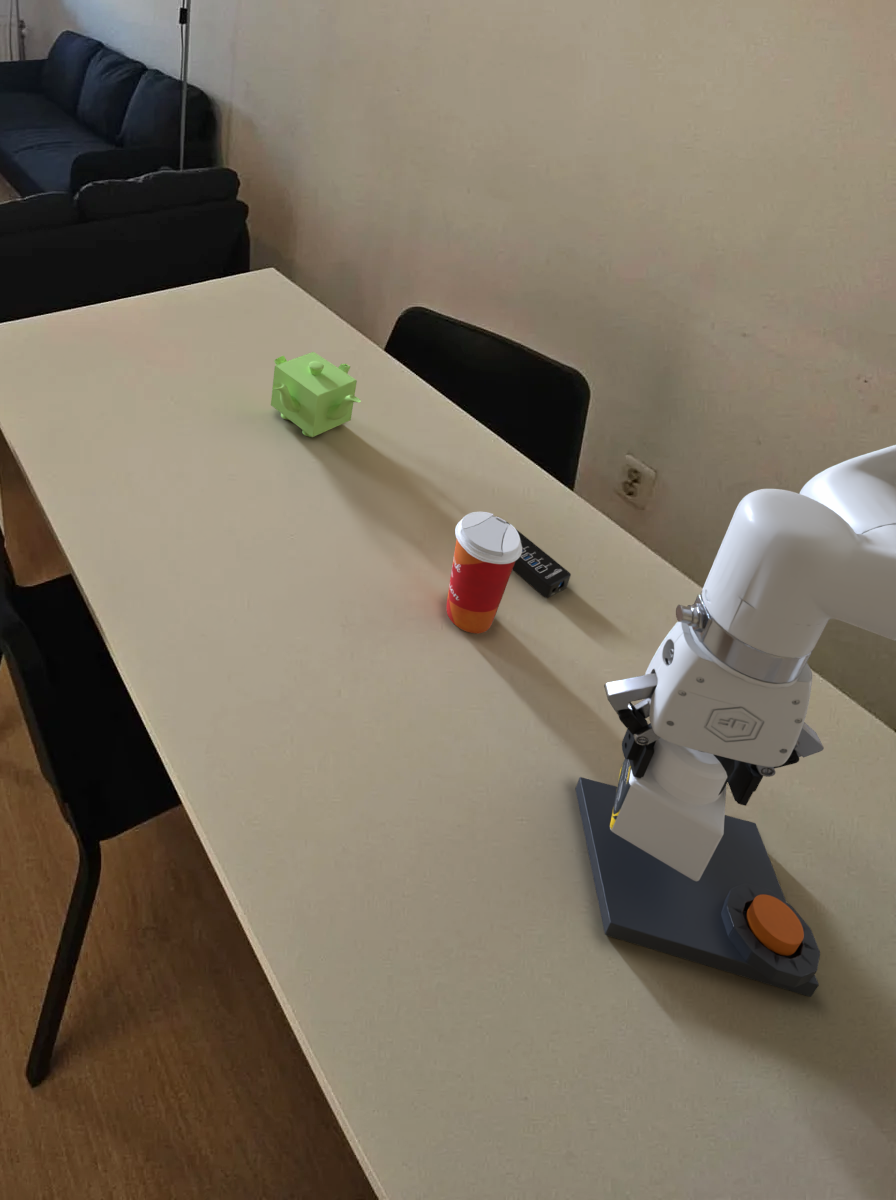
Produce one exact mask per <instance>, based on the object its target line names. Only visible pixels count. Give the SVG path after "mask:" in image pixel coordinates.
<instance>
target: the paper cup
mask: <svg viewBox="0 0 896 1200" xmlns="http://www.w3.org/2000/svg"><path fill="white" fill-rule="evenodd" d="M506 522H507V520H505V519H503V518H501V517H499V516H495V515H494V513H491V512H487V511H473V512H469V513H467V514H466V515H464V516H463V517H462V519H460V520H459V521H458V522H457V524H456V525H455V529H454V532H455V538H456V540H455V547H454V553H453V558H452V560H453V561H452V564H451V565H452V566H451V571H450V572H451V573H450V579H449V585H448V591H447V598H446V606H445V607H446V608H445V609H446V614H447V617H448V618H449V620H450V622H451V623H453V625H455V626H456V627H457V628H459V629H461V630H462V631H464V632H466V633H469V634H483V633H486V632H488V630H490V628H491V627H492V624H493V622H494V620H495V617H496V615H497V613H498V610H499V607H500V604H501V602H502V599H503V596H504V594H505V591H506V588H507V585H508V583H509V580H510V577H511V574H512V572H513V570H512V569H513V567H514V564H515V561H516V560H517V559H518V558H519V557H520V556H521V553H522V545H521V542H520V536H519V534H518V532H517V530H518V529H517V528H515V526H514V524H513V525H512V523H509V522H508V523H509V524H510V525H509V524H508V523H506ZM516 529H517V530H516Z"/></svg>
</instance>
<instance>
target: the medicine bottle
mask: <svg viewBox="0 0 896 1200" xmlns="http://www.w3.org/2000/svg"><path fill="white" fill-rule="evenodd" d="M652 744H653V747H654V754H653V756H652V758H651V761H650V763H649V765H648V767H647V770H646V772H645V774H644V777H641V778H637V777H634V776H633V774H632V770H631V766H630V763H629V760H628V759H625V758H624V760H623V762H622V764H621V767H620V770H619V774H618V780H617V785H616V787H617V790H616V796H615V801H614V806H613V812H612V817H611V823H610V829H611V831H612V832H613V833H615V834H617V835H618V836H620V837H622V838H623V839H625V840H627V841H628V842H630V843H632V844H633V845H635V846H637V847H638V848H640V849H642V850H643V851H645V852H647V853H648V854H650V855H652V856H653V857H655V858H657V859H659V860H660V861H662V862H664V863H665V864H667V865H669V866H670V867H672V868H674V869H675V870H677V871H679V872H680V873H682V874H684V875H685V876H687V877H689V878H690V879H692V880H694V881H699V880H700V878H701V876H702V874H703V872H704V870H705V868H706V866H707V864H708V863H709V861H710V859H711V857H712V855H713V853H714V851H715V849H716V847H717V846H718V844H719V842H720V840H721V838H722V836H723V834H724V818H725V815H726V798H727V784H728V780H729V778H730V776H731V774H732V772H733V770H734V766H735V760H734V759H730V758H726V757H722V756H718V755H714V754H710V753H706V752H702V751H698V750H694V749H690V748H687V747H683V746H680V745H676V744H673V743H670V742H668V741H666V740H664V739H662V738H660V739H658V740H656V741H654V742H652Z"/></svg>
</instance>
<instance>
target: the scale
mask: <svg viewBox="0 0 896 1200" xmlns="http://www.w3.org/2000/svg"><path fill="white" fill-rule="evenodd" d="M616 790H617V785H613V784H608V783H605V782H601V781H597V780H593V779H591V778H586V777H582V776H580V777H579V778H578V781H577V783H576V785H575V793H576V799H577V804H578V809H579V814H580V818H581V823H582V828H583V832H584V837H585V842H586V846H587V847H586V848H587V853H588V858H589V863H590V869H591V873H592V876H593V882H594V887H595V892H596V897H597V903H598V907H599V912H600V917H601V922H602V927H603V932H604V935H605V936H607V937H611V938H613V939H618V940H621V941H624V942H627V943H631V944H634V945H637V946H640V947H644V948H647V949H650V950H654V951H657V952H661V953H664V954H668V955H669V956H670V955H671V956H674V957H676V958H681V959H684V960H686V961H691V962H693V963H696V964H700V965H703V966H707V967H711V968H713V969H717V970H720V971H723V972H727V973H729V974H733V975H736V976H740V977H743V978H747V979H750V980H753V981H757V982H760V983H762V984H766V985H769V986H773V987H776V988H779V989H783V990H786V991H790V992H792V993H796V994H798V995H799V994H800V995H803V996H806V997H809V998H810V997H812V996H813V995H814V993H815V992H816V991H817V989H818V987H820V984H819V982H818V979H817V976H816V973H817V972H818V968H819V962H820V958H821V951H820V948H819V945H818V942H817V941H816V938H815V936H814V933H813V931H812V929H811V927H810V926H809V925H808V924H807V922H806V921H805V920H804V919H803V917H802V916H801V915H800V914H799V913H798V911H796V909H795V908H794V906H793V905H791V904H790V903H789V902H788V901H787V900H786V897H785V895H784V892H783V890H782V888H781V885H780V882H779V880H778V877H777V874H776V871H775V870H774V866H773V864H772V861H771V859H770V856H769V854H768V852H767V849H766V847H765V843H764V841H763V839H762V836H761V834H760V831H759V828H758V825H757V823H756V822H753V821H749V820H745V819H741V818H737V817H734V816H730V815H726V814H725V818H724V834H723V836H722V838H721V840H720V842H719V844H718V846H717V847H716V849H715V851H714V853H713V855H712V857H711V859H710V861H709V863H708V864H707V866H706V868H705V870H704V872H703V874H702V876H701V878H700V880H699V881H694V880H692V879H690V878H689V877H687V876H685V875H684V874H682V873H680V872H679V871H677V870H675V869H674V868H672V867H670V866H669V865H667V864H665V863H664V862H662V861H660V860H659V859H657V858H655V857H653V856H652V855H650V854H648V853H647V852H645V851H643V850H642V849H640V848H638V847H637V846H635V845H633V844H632V843H630V842H628V841H627V840H625V839H623V838H622V837H620V836H618V835H617V834H615V833H613V832H612V831H611V829H610V823H611V817H612V812H613V806H614V801H615V796H616ZM762 894H764V895H770V896H773V897H775V898H777V899H779V900H780V901H782V902H783V903H784V904H786V905H787V906H788V907H789V908H790V909H791V910H792V911H793V912H794V913H795V915H796V916H797V917H798V919H799V921H800V923H801V925H802V927H803V931H804V938H803V940H802V942H801V944H800V945H799V947H798V948H797V950H796V951H795V953H794V954H792V955H788V956H785V955H780V954H777V953H775V952H773V951H771V950H770V949H768V948H767V947H765V946H764V945H763V944H762V943H761V942H760V941H759V940H758V939H757V938H756V937H755V935H754V934H753V932H752V931H751V929H750V927H749V925H748V922H747V910H748V909H749V907H750V905H751V903H752V902H753V900H754V898H755V897H756V896H758V895H762Z"/></svg>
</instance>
